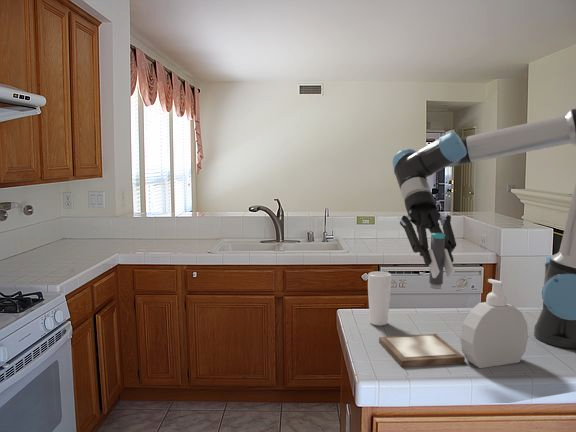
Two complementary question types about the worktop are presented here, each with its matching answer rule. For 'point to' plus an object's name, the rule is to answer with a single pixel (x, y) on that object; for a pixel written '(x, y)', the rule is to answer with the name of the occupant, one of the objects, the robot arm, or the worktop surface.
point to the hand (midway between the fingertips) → (443, 274)
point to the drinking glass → (379, 297)
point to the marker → (437, 258)
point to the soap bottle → (494, 331)
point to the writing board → (420, 350)
